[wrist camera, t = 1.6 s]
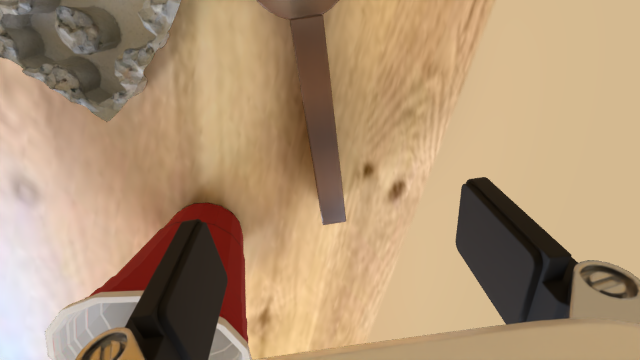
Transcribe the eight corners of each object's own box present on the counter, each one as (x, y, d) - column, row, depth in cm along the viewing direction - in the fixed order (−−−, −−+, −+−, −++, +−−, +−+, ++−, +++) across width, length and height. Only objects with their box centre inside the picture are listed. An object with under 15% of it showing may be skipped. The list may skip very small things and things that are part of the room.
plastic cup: (129, 167, 23) (-3, 299, 13) (273, 180, 25) (258, 308, 14) (146, 271, 29) (63, 424, 18) (265, 277, 30) (250, 421, 20)
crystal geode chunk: (80, -150, 15) (15, -197, 11) (217, -29, 18) (198, -38, 14) (12, 36, 19) (-54, 43, 15) (135, 112, 21) (104, 134, 18)
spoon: (367, 194, 26) (376, 217, 23) (292, 206, 26) (292, 230, 23) (346, -128, 16) (357, -155, 13) (225, -110, 16) (211, -133, 13)
